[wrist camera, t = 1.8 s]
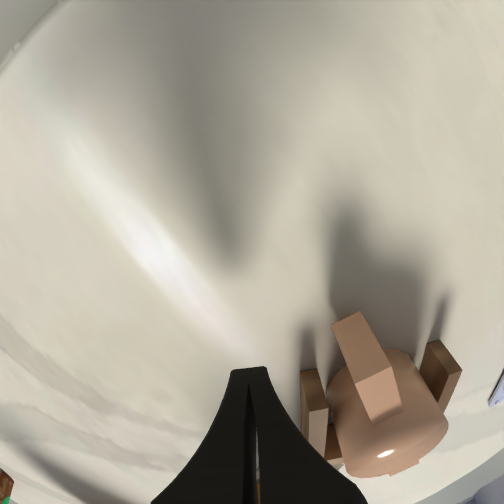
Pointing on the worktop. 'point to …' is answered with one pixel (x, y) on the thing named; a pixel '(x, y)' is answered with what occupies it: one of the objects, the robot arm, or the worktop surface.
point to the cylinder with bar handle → (380, 405)
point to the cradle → (316, 408)
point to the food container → (5, 487)
